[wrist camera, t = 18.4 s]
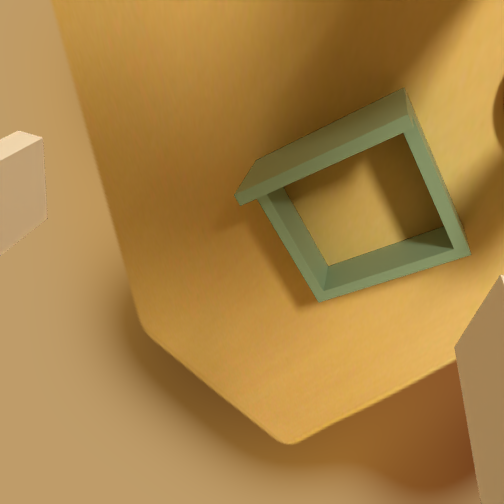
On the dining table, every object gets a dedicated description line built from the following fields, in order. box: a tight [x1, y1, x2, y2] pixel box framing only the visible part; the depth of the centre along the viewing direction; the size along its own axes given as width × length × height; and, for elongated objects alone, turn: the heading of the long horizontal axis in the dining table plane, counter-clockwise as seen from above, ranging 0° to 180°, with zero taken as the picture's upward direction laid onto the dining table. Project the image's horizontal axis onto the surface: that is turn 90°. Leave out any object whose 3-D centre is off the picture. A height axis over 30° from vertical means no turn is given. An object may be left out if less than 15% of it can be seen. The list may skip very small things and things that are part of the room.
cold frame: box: [234, 88, 471, 302], centre depth 47 cm, size 16×16×9 cm
